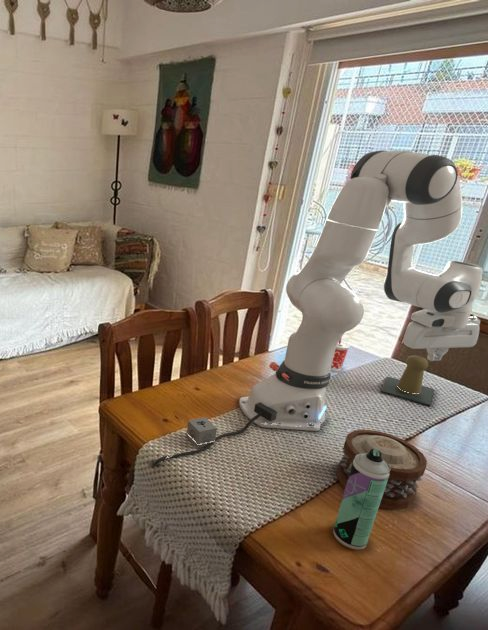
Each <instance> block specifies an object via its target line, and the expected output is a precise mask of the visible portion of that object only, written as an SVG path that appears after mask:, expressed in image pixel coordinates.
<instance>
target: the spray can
mask: <svg viewBox="0 0 488 630" xmlns="http://www.w3.org/2000/svg"><path fill="white" fill-rule="evenodd" d="M389 475H390V466H389V465H388V463H387V462H385V461H384V460H383V459H382V458H381V452H380V451H378V450H376V449H371V450H370V452H369V453H366V454H364V453H362V454H358V455H356V456H355V459H354V460H353V464H352V467H351V471H350V474H349V478H348V481H347V485H346V488H344V492H343V496H342V499H341V502H340V506H339V509H338V513H337V516H336V519H335V523H334V526H333V531H332V533H333V535H334V538H335V539H336V540H337V541H338V542H339V543H340V544H341V545H343V546H344V547H347V548H349V549H352V550H356V551H359V550H363V549H365V548H366V547H367V544H368V542H369V539H370V536H371V532H372V529H373V526H374V524H375V523H374V522H375V520H376V517H377V514H378V511H379V508H380V507H379V505H380V502H381V499H382V496H383V493H384V490H385V487H386V484H387V481H388V478H389Z"/></svg>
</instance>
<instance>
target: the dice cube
mask: <svg viewBox="0 0 488 630" xmlns="http://www.w3.org/2000/svg"><path fill="white" fill-rule="evenodd" d="M217 432H218V428H217V427H216V425H214V424H213V422H211V421H210V420H209V419H208V418H207V417H206V416H203V417H199V418H193V419H188V420H187V428H186V435H185V437H186V439H188V441H189V442H190V443H191V444H192V445H193V446H194V447H195V448H196V450H198V449H201V448H203V447H205V446H207V445H208V444H209V443H207V444H202V445H197V444H200V443H205V442H210V441H214V440H215V438H216V437H217ZM187 433H188V434H189V435H190V436H191V437H192V438H194V440H195V441H196V442H197V444H196V443H195V442H194V441H193V440H192V439H191V438H190V437H189V436H188V435H187ZM211 443H214V444H213V445H212V446H214V445H216V442H211Z"/></svg>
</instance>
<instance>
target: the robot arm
mask: <svg viewBox="0 0 488 630" xmlns="http://www.w3.org/2000/svg"><path fill="white" fill-rule="evenodd" d="M350 173H351V174H350V178H349V180H347V181H346V182H345V183H344V184H343V186H342V187H341V189H340V191H339V192H338V194H337V196H336V198H335V199H334V201H333V203H332V205H331V207H330V210H329V212H328V213H327V217H326V219H325V222H324V224H323V227H322V230H321V232H320V235H319V237H318V239H317V242H316V244H315V247H314V249H313V250H312V253H311V254H310V255H309V257H308V259H307V260H306V262H305V263H304V265H303V266H302V268H301V269H300V270H299V271H298V272H296V273H294V274H293V275H292V276H291V277H290V278H289V280H288V281H287V283H286V287H285V291H286V295H287V297H288V299H289V301H290V304H292V305H293V306H294V307H295V309H297V310H298V311H299V312H300V313H301V315H302V319H301V323H300V324H299V326H298V328H297V329H296V331H294V332H292V333H291V334H290V336H289V337H288V341H287V346H286V351H285V356H284V360H283V361H282V362H281V364H280V365H279V364H277V363H276V362H275V361H271V362H270V363H269V366H268V367H269V368H270V369H271V370H272V371H273V372H275V373H274V374H271V375H270V376H269V377H267V378H265V379H263V380H261V381H259V382H257V383H256V384H254V385H253V386H252V388H251V389H250V391H249V395H248V396H247V395H246V396H242V397H240V398H239V400H238V406H239V408H240V410H241V411H242V413H243V414H244V415H245V416H246V418H248V419H249V421H248V422H247V423H246V425H245V426H244V427H242V428H241V429H240V430H237V431H233V432H227V433H226V432H225V433H222V434H219V435H217V436H216V438H215V443H216V442H218V441H219V440H220V439H222V438H226V437H230V436H236V435H240V434H242V433H244V432H245V431H246V430H247V429H249V427H250V426H251V425H252V423H254V424H255V425H257V426H259V427H261V428H268V429H281V430H296V431H298V430H299V431H310V432H318V431H320V430H321V425H322V424H323V423H324V422H325V421H326V419H327V418H326V409H327V405H326V402H325V401H326V392H327V387H328V386H329V384H330V381H331V376H332V371H331V370H330V368H331V364H332V360H333V357H334V353H335V349H336V347H337V344H338V342H339V341H340V339H341V340H342V338H343V336H344V334H345V333H347V332H349V331H351V330H353V329H355V328H356V327H357V326H358V325H359V324H360V323H361V321H362V320H363V318H364V314H365V313H364V312H365V308H364V304H363V303H362V302H361V300H360V298H359V297H358V296H357V295H356V294H355V293H354V292H353V290H351V289H350V288H348V287H346V286H345V285H343V282H344V280H345V279H346V277H347V276H348V275H349V273H350V272H351V271H352V270H353V269H355V268H356V267H358V266H360V265H362V264H363V263H364V262H365V261H366V260H367V257H368V254H369V252H370V250H371V247H372V245H373V243H374V240H375V238H376V236H377V233H378V230H379V229H380V227H381V224H382V220H383V218H384V215H385V211H386V208H387V206H388V205H389V204H390V203H391V202H396V203H403V214H404V215H403V216H404V217H403V221H401V222H399V223H398V224H397V225H396V226H395V227H394V229H393V232H392V235H391V240H390V247H389V254H388V263H387V271H386V275H385V278H384V280H383V284H382V285H383V292H384V295H385V296H386V297H387V299H389V300H390V301H395V302H399V303H404V304H408V305H411V306H415V307H417V308H421V310H418V311H415V312H413V313H412V314H411V315H410V320H412V321H410V322H409V324H408V325H407V326H406V330H405V332H404V336H403V340H402V342H403V344H404V346H406V347H408V348H411V349H412V350H421V349H422V350H423V349H426V353H427V355H426V360H427V361H429V362H435V361H436V362H439V361H442V358H443V356H444V355H445V354H447V353H448V351H449V349H453V348H455V349H456V348H473V347H474V346H475V345H477V342H478V340H479V335H480V330H481V329H480V324H481V319H480V318H479V317H478V316H476V315H472V316H471V313H472V311H473V303H474V301H475V300H476V298H477V297H478V294H479V291H480V288H481V284H482V280H483V271H484V270H483V268H482V267H481V266H480V265H478V264H475V263H469V262H464V261H461V260H450V261H448V262H447V264H446V266H445V267H444V269H443V271H442V272H441V273H438V274H434V273H429V272H426V271H422V270H419V269H417V268H415V267H414V266H413V259H414V251H415V246H417V245H427V244H431V243H435V242H438V241H440V240H443V239H445V238H447V237H449V236H450V235H452V234H453V233H454V232H455V231H457V229H458V228H459V226H460V225H461V222H462V218H463V195H462V188H461V183H460V177H459V174H458V169H457V165H456V164H455V162H454V161H452V159H450V158H448V157H445V156H442V155H438V154H427V153H426V154H425V153H422V152H421V153H420V152H414V151H410V150H385V149H383V150H382V149H380V150H375V151H370V152H367V153H365V154H364V155H362V156H361V158H359V160H358V161H357V162H356V163H355V164H354V166H353V168H352V170H351V172H350ZM341 337H342V338H341ZM265 422H266V423H268V424H267V425H264V424H261V423H265ZM320 422H321V423H320ZM272 423H276V424H277V425H284V424H285V425H284V426H277V425H271V424H272ZM307 423H308V424H307ZM309 423H311V424H309ZM312 424H313V425H312ZM300 425H302V426H301V427H291V426H300ZM305 425H306V427H314V428H305ZM213 444H214V443H209V444H208V445H207V446H205V447H203V448H198V449H195V450H191V451H184V452H179V453H175V454H172V455H173V456H172V457H170V458H167V459H165V458H166V457H167V456H168V455H164V456H161V457H159V458H157V459H156V460H155V461H154V462H153V463H152V466H153V467H156V466H158V464H159V463H160V462H163V461H164V460H169V459H176V458H179V457H185V456H189V455H195V454H198V453H202V452H205V451H206V450H208V449H210V447H212V446H214V445H213Z"/></svg>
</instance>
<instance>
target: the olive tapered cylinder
mask: <svg viewBox="0 0 488 630" xmlns="http://www.w3.org/2000/svg"><path fill="white" fill-rule="evenodd" d="M405 365H406V367H405V369H404V371H403V372H402V375H401V376H400V378H399V382H398V384H397V386H398V387H399V388H400V389H401V390H400V389H399V388H398V387H397V386H396V388H397V389H398V390H399V391H401V392H403V393H406V394H410V395H419V394H420V393H421V387H422V386H423V380H424V372H425V370H427V368H428V367H429V360H428V359H427V358H425V357H423V356H420V355H409V356H408V357H407V358H406V360H405ZM402 390H403V391H402ZM404 391H406V392H404ZM407 392H409V393H407ZM412 393H419V394H412Z"/></svg>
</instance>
